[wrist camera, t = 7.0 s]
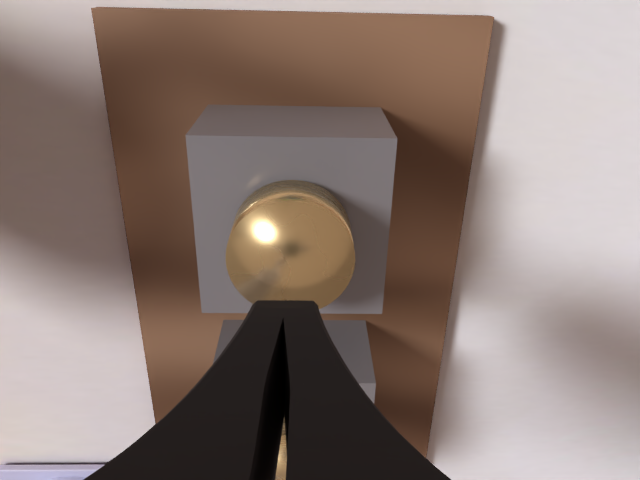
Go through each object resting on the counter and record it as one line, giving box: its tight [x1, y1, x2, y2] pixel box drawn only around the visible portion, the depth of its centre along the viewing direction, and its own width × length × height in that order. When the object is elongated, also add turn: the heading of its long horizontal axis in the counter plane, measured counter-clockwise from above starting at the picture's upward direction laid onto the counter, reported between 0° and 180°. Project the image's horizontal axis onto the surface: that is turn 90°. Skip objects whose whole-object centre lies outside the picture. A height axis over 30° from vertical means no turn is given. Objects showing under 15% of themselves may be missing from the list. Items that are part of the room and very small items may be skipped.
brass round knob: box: [226, 180, 355, 309], centre depth 17 cm, size 4×4×6 cm
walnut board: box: [91, 7, 494, 458], centre depth 22 cm, size 21×13×1 cm, turn 179°
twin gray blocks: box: [185, 105, 397, 403], centre depth 20 cm, size 15×6×4 cm, turn 179°
